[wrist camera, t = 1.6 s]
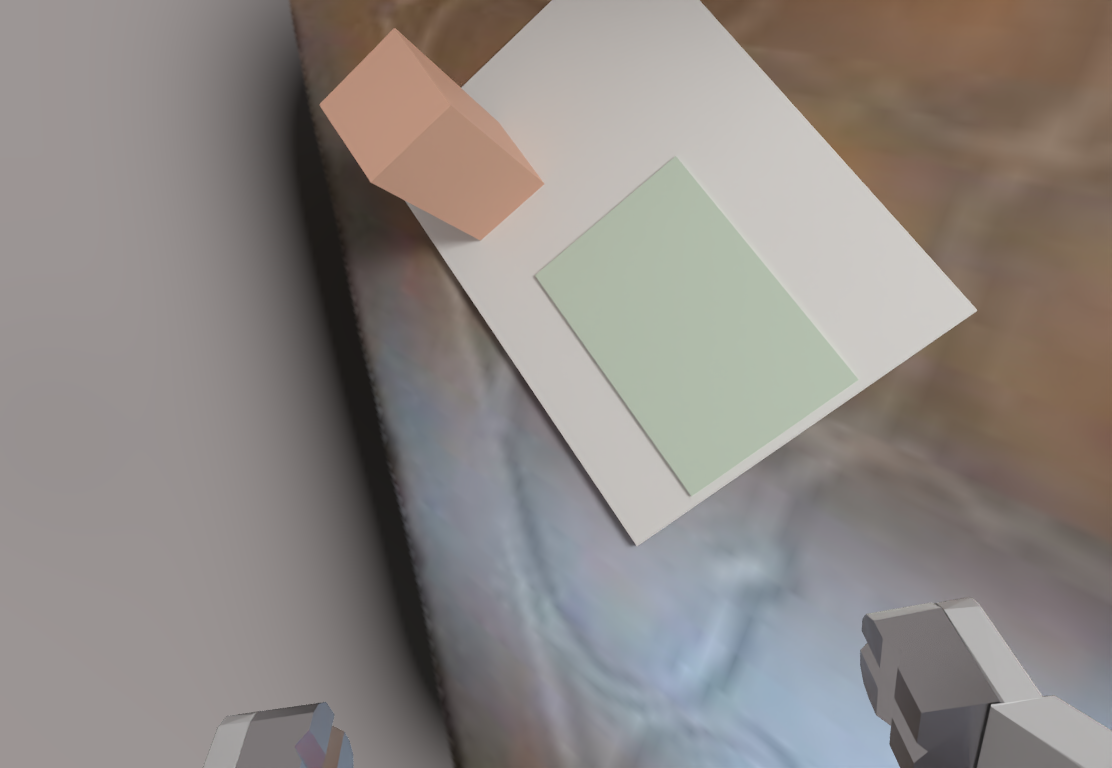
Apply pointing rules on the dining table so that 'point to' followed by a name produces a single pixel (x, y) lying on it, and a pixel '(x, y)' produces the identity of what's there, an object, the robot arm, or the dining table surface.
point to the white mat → (681, 254)
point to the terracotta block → (429, 139)
